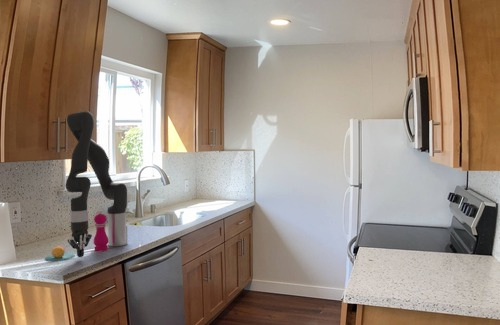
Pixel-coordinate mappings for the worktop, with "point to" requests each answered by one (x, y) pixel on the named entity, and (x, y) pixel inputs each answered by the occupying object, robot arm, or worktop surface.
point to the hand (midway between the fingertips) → (80, 256)
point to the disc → (64, 257)
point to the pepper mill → (100, 232)
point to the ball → (58, 252)
